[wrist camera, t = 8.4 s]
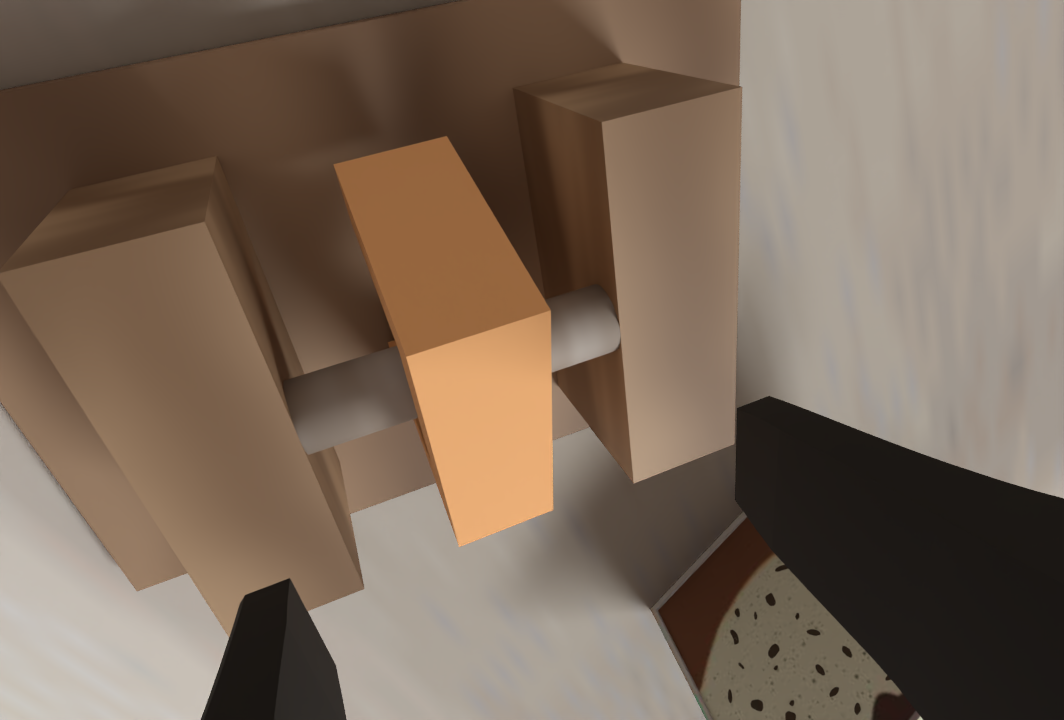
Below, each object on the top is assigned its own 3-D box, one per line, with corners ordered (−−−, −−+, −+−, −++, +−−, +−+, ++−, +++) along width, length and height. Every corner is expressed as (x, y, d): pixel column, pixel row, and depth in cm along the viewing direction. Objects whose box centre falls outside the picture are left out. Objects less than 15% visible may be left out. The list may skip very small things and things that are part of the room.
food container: (702, 660, 33) (849, 878, 25) (628, 632, 30) (770, 873, 22) (877, 483, 32) (1097, 656, 23) (819, 430, 28) (1053, 613, 20)
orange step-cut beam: (397, 376, 19) (459, 546, 16) (333, 164, 13) (406, 356, 10) (477, 350, 19) (553, 509, 16) (446, 135, 14) (551, 310, 11)
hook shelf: (140, 571, 20) (106, 756, 15) (-173, 123, 13) (-420, 205, 8) (720, 364, 24) (835, 456, 19) (723, -52, 17) (903, -65, 12)
